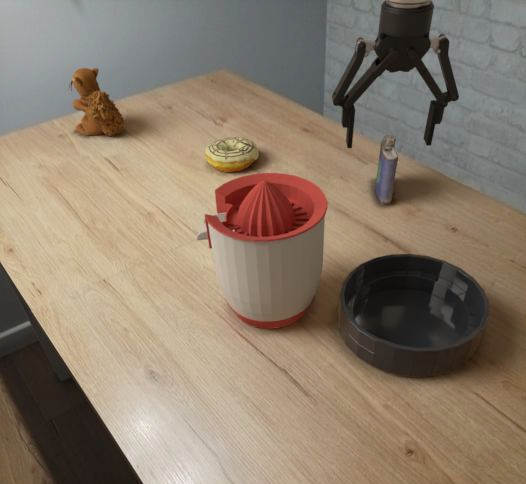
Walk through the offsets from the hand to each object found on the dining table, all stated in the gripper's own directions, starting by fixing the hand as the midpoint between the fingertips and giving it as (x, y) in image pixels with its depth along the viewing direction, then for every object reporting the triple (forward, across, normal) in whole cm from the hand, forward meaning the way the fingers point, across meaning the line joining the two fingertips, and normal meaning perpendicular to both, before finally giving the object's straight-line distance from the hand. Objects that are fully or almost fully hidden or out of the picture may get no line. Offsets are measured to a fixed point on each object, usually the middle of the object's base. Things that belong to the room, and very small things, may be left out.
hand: (387, 143), depth 90 cm
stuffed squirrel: (+10, -60, +32) cm, 68 cm away
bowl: (+9, -2, -36) cm, 37 cm away
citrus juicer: (+10, -22, -30) cm, 38 cm away
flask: (+10, 0, 0) cm, 10 cm away
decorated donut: (+10, -29, +14) cm, 33 cm away
